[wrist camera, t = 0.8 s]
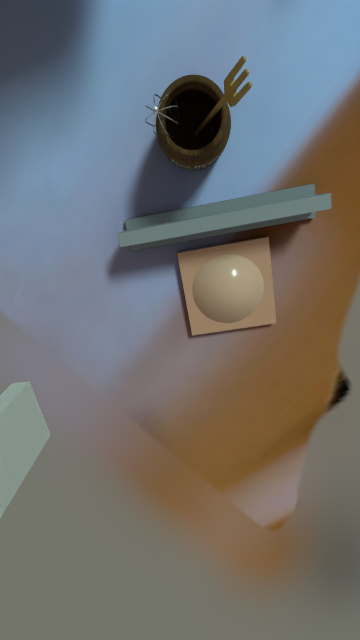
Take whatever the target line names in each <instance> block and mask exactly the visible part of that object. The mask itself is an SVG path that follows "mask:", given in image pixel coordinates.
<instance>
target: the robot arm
mask: <svg viewBox="0 0 360 640" xmlns="http://www.w3.org/2000/svg"><path fill="white" fill-rule="evenodd" d="M49 437H50V433H49V430H48V427H47V425H46V422H45V420H44V417H43V415H42V412H41V410H40V408H39V405H38V402H37V400H36V397H35V395H34V392H33V390H32V387H31V385H30V382H22V383H14V384H11V385H10V386H9V387H8V388H7V389H6V390H5V391H4V392H3V393H2V394H1V395H0V518H1V516H2V515H3V513H4V511H5V510H6V508H7V506H8V505H9V503H10V501H11V500H12V498H13V496H14V495H15V493H16V491H17V490H18V488H19V487H20V485H21V483H22V482H23V480H24V478H25V476H26V475H27V473H28V472H29V470H30V468H31V467H32V465H33V463H34V462H35V460H36V458H37V457H38V455H39V454H40V452H41V450H42V449H43V447H44V445H45V444H46V442H47V440H48V439H49Z"/></svg>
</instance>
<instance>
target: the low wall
mask: <svg viewBox="0 0 360 640" xmlns="http://www.w3.org/2000/svg"><path fill="white" fill-rule="evenodd" d="M327 209H331V193H325V194H315V185H314V184H309V185H304V186H299V187H294V188H289V189H284V190H278V191H273V192H268V193H263V194H258V195H252V196H247V197H242V198H237V199H232V200H227V201H221V202H216V203H211V204H206V205H201V206H195V207H190V208H185V209H180V210H175V211H169V212H164V213H159V214H154V215H149V216H144V217H138V218H133V219H128V220H125V225H126V229H127V230H125V231H122V232H120V233H117V235H118V239H119V243H120V247H125V246H131V251H134V250H139V249H145V248H151V247H156V246H162V245H167V244H173V243H178V242H184V241H189V240H195V239H200V238H206V237H211V236H217V235H222V234H228V233H233V232H239V231H244V230H250V229H255V228H261V227H266V226H272V225H278V224H283V223H289V222H294V221H300V220H305V219H311V218H316V211H321V210H327Z"/></svg>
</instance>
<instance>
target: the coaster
mask: <svg viewBox="0 0 360 640" xmlns="http://www.w3.org/2000/svg"><path fill="white" fill-rule="evenodd" d="M177 255H178V261H179V266H180V272H181V277H182V283H183V288H184V293H185V299H186V304H187V310H188V315H189V321H190V326H191V331H192V336H193V335H199V334H206V333H213V332H220V331H227V330H233V329H240V328H247V327H254V326H261V325H268V324H274V323H276V314H275V303H274V291H273V280H272V269H271V257H270V246H269V237H268V236H266V237H260V238H254V239H249V240H243V241H237V242H232V243H226V244H221V245H215V246H209V247H204V248H198V249H192V250H187V251H181V252H177Z"/></svg>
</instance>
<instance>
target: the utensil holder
mask: <svg viewBox="0 0 360 640" xmlns="http://www.w3.org/2000/svg"><path fill="white" fill-rule="evenodd" d="M245 61H246V58H245V56H242V57H241V59H240V60H239V61H238V62H237V64H236V65H235V66H234V68H233V69H232V70H231V72H230V73H229V74H228V76H227V77H226V78H225V80H224V92H225V93H224V94H223V93H222V91H221V89H220V88H219V87H218V86H217V85H216V84H215V83H214V82H213V81H212V80H210V79H208V78H206V77H204V76H200V75H187V76H183V77H181V78H179V79H177V80H175V81H174V82H173V83H172V84H171V85H169V87H168V88H167V89H166V90H165V92H164V93H163V95H162V97H159V96H158V95H156V94H154V96H155V95H156V96H158V97H159V98H161V100H160V102H159V106H158V109H156V110H154V109H152V108H150V107H148V106H146V105H145V106H146V107H148V108H149V109H151V110H153V111H154V113H156V114H157V117H156V115H155V117H156V132H157V134H156V133H155V132H154V133H155V134H156V135H157V137H158V140H159V143H160V145H161V148H162V149H163V151H164V153H165V154H166V155H167V157H168V158H169V159H170V160H171V161H172V162H173V163H174V164H175V165H177V166H179V167H180V168H183V169H186V170H201V169H204V168H206V167H208V166H210V165H211V164H213V163H214V162H215V161H216V160H217V159H218V158H219V156H220V155H221V153H222V152H223V150H224V148H225V146H226V144H227V141H228V138H229V134H230V129H231V117H230V111H229V107H228V105H227V102H228V104H229V105H230V106H231V107H232V106H235V105H236V104H237V103H238V102H239V100H240V99H241V98H242V97H243V96H244V95H245V94H246V93H247V91H248V90H249V89H250V88H251V86H252V84H251V82H250V81H249V82H248V83H247V84H246V85H245V86H244V87H243V88H242V89H241V90H240V91H239V92H238V93H236V90H237V88H238V87H239V86H240V85H241V83H242V82H243V81H244V79H245V78H246V77H247V76H248V74H249V71H248V69H245V70H244V71H243V72H242V74H241V75H240V76H239V77H238V78H237V80H236V81H235V82H234V81H233V80H234V77H235V76H236V74H237V73H238V71H239V70H240V69H241V67H242V66H243V64H244V63H245ZM154 104H155V100H154ZM155 108H156V105H155ZM154 113H152V114H154ZM152 114H151V115H152ZM151 115H149V116H151ZM149 116H148V117H149ZM148 117H147V118H148ZM147 118H146V119H147ZM145 122H146V120H145ZM154 122H155V118H154ZM146 123H147V122H146ZM148 124H149V123H148ZM149 125H151V124H149ZM152 126H153V131H154V126H155V125H154V123H153V125H152Z"/></svg>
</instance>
